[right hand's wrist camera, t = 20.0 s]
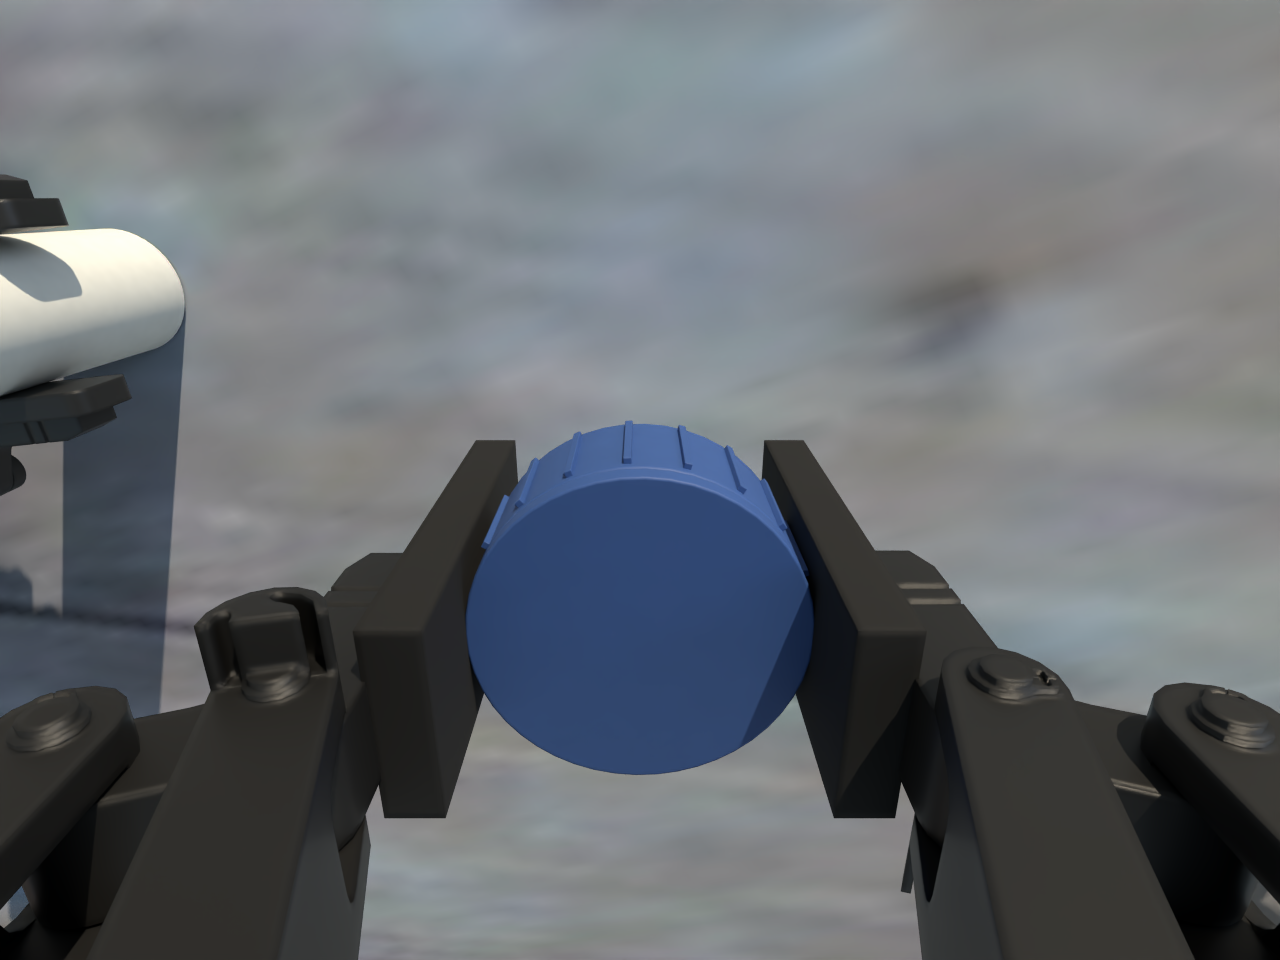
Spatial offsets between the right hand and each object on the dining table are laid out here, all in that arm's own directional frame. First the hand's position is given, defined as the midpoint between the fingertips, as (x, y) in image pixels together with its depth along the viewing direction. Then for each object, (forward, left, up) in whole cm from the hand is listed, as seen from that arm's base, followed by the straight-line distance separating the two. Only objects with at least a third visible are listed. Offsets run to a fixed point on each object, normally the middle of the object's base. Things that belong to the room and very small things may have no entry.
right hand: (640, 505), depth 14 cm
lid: (0, 0, +4) cm, 4 cm away
